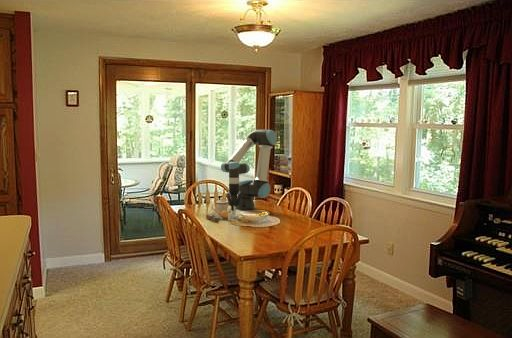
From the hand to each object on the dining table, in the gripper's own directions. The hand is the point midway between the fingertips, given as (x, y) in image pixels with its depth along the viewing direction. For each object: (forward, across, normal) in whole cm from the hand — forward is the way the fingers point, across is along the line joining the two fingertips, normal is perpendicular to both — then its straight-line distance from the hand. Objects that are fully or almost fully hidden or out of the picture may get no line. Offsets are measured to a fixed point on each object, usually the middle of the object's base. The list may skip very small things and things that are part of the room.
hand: (233, 214), depth 332 cm
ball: (-1, +8, 0) cm, 8 cm away
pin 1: (+1, +11, 0) cm, 11 cm away
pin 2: (+2, +8, +7) cm, 11 cm away
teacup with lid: (+2, +2, -17) cm, 17 cm away
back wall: (+2, +18, 0) cm, 18 cm away
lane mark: (+2, +3, 0) cm, 4 cm away
